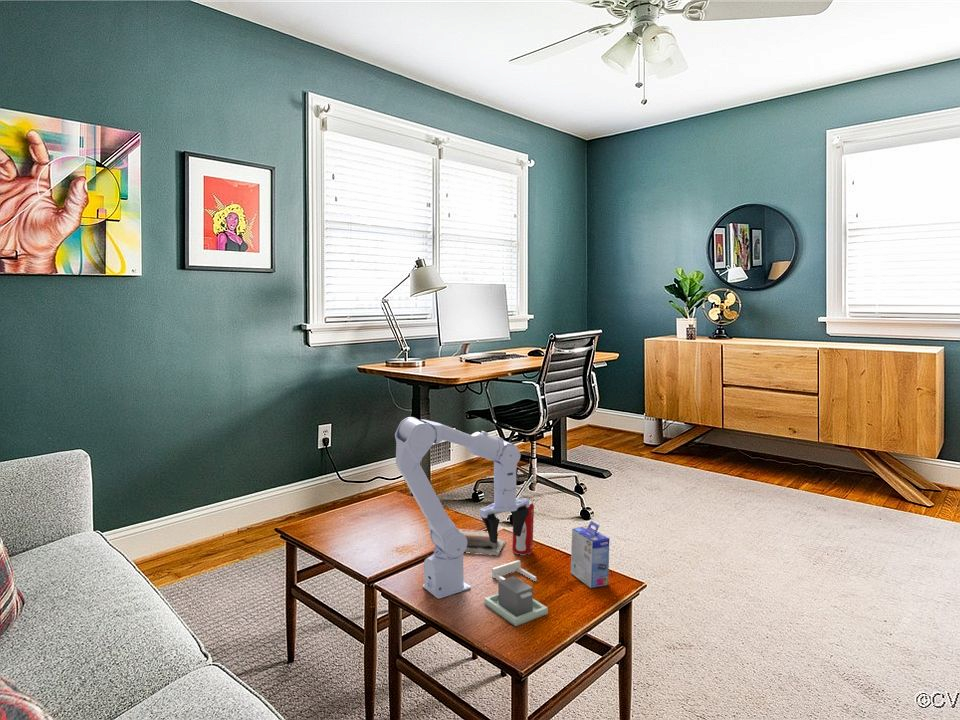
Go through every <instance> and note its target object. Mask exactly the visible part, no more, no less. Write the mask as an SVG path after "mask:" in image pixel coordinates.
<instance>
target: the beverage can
mask: <svg viewBox="0 0 960 720" xmlns="http://www.w3.org/2000/svg"><path fill="white" fill-rule="evenodd" d="M522 498H523V497H520V498H518V499H522ZM525 498H526V497H525ZM526 499H529V498H526ZM529 500H530V507H526V508H527V509H529V514H528V516H527V518H526V520H525V522H524V525H523V528H522V532H521V536H519V537H518V536H516V535H514V532H513V531H512V538H511V539H512V542H511V543H512V545H511V546H512V547H511V549H512V551H513V553H514V554H516V555H518V554H520V555H519V556H527V555H526V554H528V555H530V554H532V552H533V548H534V543H533V541H534V514H535V513H534V512H535V504H534V501H533V500H532V499H529Z"/></svg>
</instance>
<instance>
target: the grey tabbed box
mask: <svg viewBox="0 0 960 720" xmlns="http://www.w3.org/2000/svg"><path fill="white" fill-rule="evenodd" d="M497 582H498V592H497V593H498V597H499V605H501V606H502V607H503V608H505V609H506V610H508V611H509V612H511V613H512V614H513V615H515V616H516V617H518V616H520V615H523V614H526V613H528V612H531V611H533V599H534V598H533V597H534V594H533V592H534V591H533V589H534V587H532V586H531V585H529V584H527V583H525V582H524V581H523V580H521V579H519V578H518V577H516V576H512V577H511V576H510V577H508V578H505V579H504V580H501V581H498V580H497Z"/></svg>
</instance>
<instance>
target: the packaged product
mask: <svg viewBox="0 0 960 720" xmlns="http://www.w3.org/2000/svg"><path fill="white" fill-rule="evenodd" d="M457 529H458V531H460V532H461V533H463V534H464V535H465V536H466V538H467V548H466V550H465V552H470V553H482V554H491V555H490V556H492V555H500V554H501V552H502V550H503V549H504V547H505V545H504V543H505V544H506V539H499V538H498V537H499V532H497V543H493V542H491V541H490V538H489V534H488V531H486V530H477V529H467V528H466V529H465V528H457ZM503 546H504V547H503ZM501 549H502V550H501ZM500 551H501V552H500Z"/></svg>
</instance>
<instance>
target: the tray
mask: <svg viewBox="0 0 960 720" xmlns="http://www.w3.org/2000/svg"><path fill="white" fill-rule="evenodd" d="M484 605H485V606H486V607H487V608H489V609H490V610H492V611H493V612H494V613H496V614H497V615H499V616H500V617H502V618H503V619H504V620H506V621H507V623H510V624H511V625H513V626H514V627H518V626H520V625H523V624H526V623H528V622H531V621H533V620H535V619H539V618H541V617H543V616H547V615H548V613H549V612H548V611H549V608H548V606H546V605H544V604H542V602H540V601H538V600H536V599H534V598H533V611H531V612H528V613H526V614H523V615H520V616H518V617H516V616H515V615H513V614H512V613H511V612H509V611H508V610H506V609H505V608H503V607H502V606H501V605H499V597H498V592H497V593H495V594H492V595H488V596H486V597H484Z"/></svg>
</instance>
